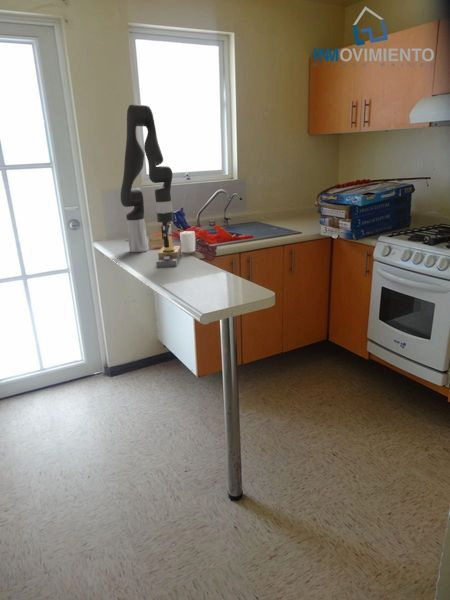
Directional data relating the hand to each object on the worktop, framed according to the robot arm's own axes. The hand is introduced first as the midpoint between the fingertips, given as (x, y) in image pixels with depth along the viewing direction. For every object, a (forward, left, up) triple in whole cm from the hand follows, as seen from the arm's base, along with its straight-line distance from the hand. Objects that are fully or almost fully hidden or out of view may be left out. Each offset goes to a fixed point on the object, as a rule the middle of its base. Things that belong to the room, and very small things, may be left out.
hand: (168, 245), depth 205 cm
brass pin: (0, 0, -8) cm, 8 cm away
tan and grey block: (0, 0, -8) cm, 8 cm away
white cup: (+8, +20, -8) cm, 23 cm away
